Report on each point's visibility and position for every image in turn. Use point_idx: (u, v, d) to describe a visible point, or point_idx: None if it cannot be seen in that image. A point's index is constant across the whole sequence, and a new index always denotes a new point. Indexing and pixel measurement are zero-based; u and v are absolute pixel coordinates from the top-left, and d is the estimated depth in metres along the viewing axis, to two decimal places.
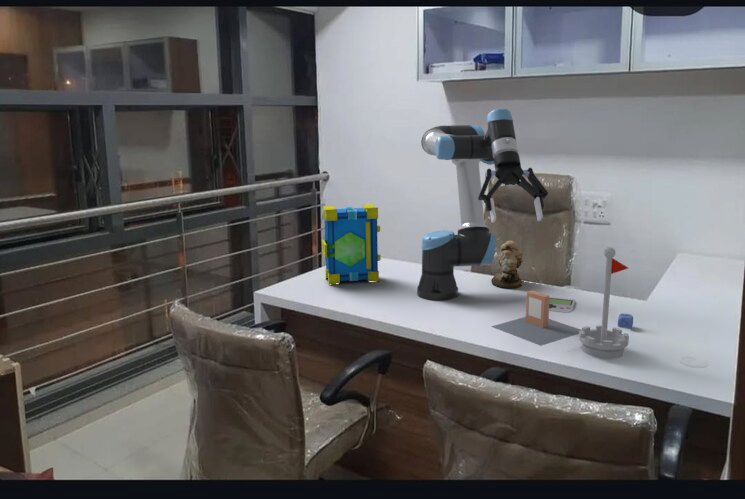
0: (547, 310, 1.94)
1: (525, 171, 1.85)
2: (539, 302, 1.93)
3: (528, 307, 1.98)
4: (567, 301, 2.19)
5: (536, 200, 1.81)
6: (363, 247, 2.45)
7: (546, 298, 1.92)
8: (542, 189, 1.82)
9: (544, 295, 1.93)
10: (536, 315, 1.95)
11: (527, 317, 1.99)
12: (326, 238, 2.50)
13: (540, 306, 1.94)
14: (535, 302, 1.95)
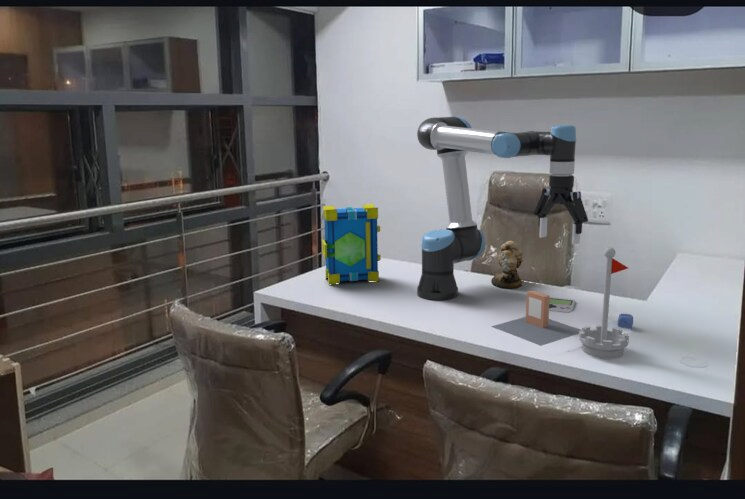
0: (547, 310, 1.94)
1: None
2: (539, 302, 1.93)
3: (528, 307, 1.98)
4: (567, 301, 2.19)
5: (546, 220, 2.08)
6: (363, 247, 2.45)
7: (546, 298, 1.92)
8: None
9: (544, 295, 1.93)
10: (536, 315, 1.95)
11: (527, 317, 1.99)
12: (326, 238, 2.50)
13: (540, 306, 1.94)
14: (535, 302, 1.95)
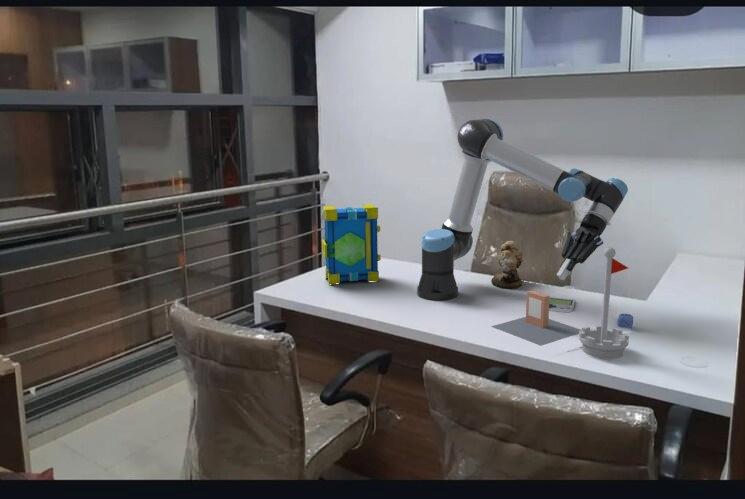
0: (547, 310, 1.94)
1: None
2: (539, 302, 1.93)
3: (528, 307, 1.98)
4: (567, 301, 2.19)
5: None
6: (363, 247, 2.45)
7: (546, 298, 1.92)
8: None
9: (544, 295, 1.93)
10: (536, 315, 1.95)
11: (527, 317, 1.99)
12: (326, 238, 2.50)
13: (540, 306, 1.94)
14: (535, 302, 1.95)
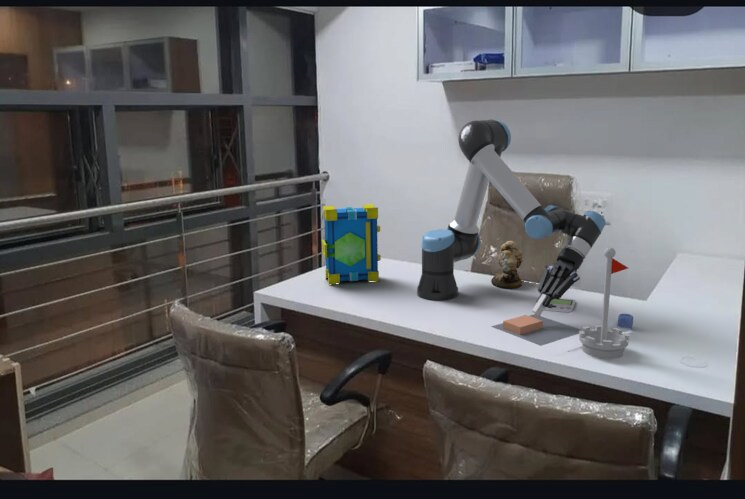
0: (530, 326, 1.90)
1: None
2: None
3: None
4: (567, 301, 2.19)
5: None
6: (363, 247, 2.45)
7: (521, 331, 1.88)
8: None
9: (517, 329, 1.89)
10: None
11: None
12: (326, 238, 2.50)
13: None
14: None
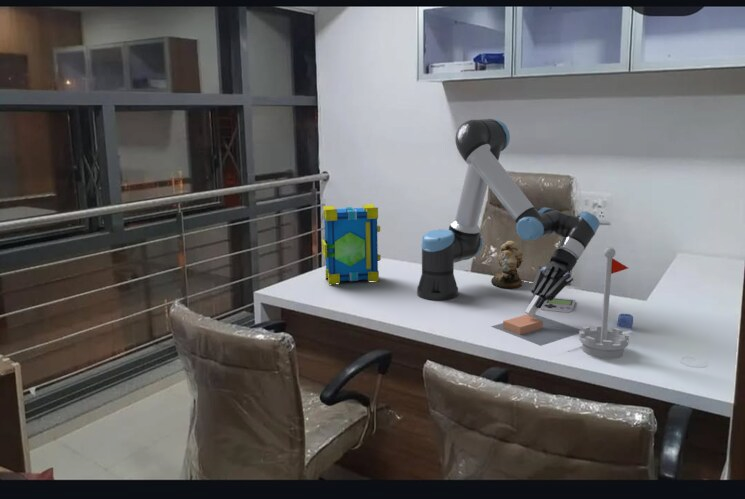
0: (530, 326, 1.90)
1: None
2: None
3: None
4: (567, 301, 2.19)
5: None
6: (363, 247, 2.45)
7: (521, 331, 1.88)
8: None
9: (517, 329, 1.89)
10: None
11: None
12: (326, 238, 2.50)
13: None
14: None
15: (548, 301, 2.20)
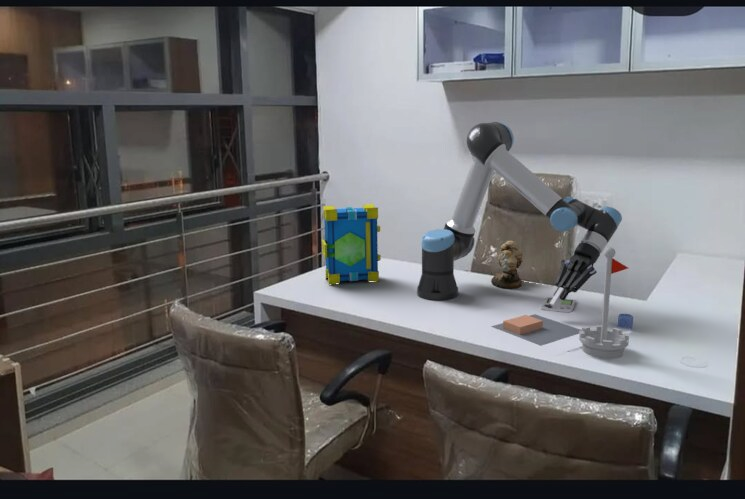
0: (530, 326, 1.90)
1: None
2: None
3: None
4: (567, 301, 2.19)
5: None
6: (363, 247, 2.45)
7: (521, 331, 1.88)
8: None
9: (517, 329, 1.89)
10: None
11: None
12: (326, 238, 2.50)
13: None
14: None
15: (548, 301, 2.20)
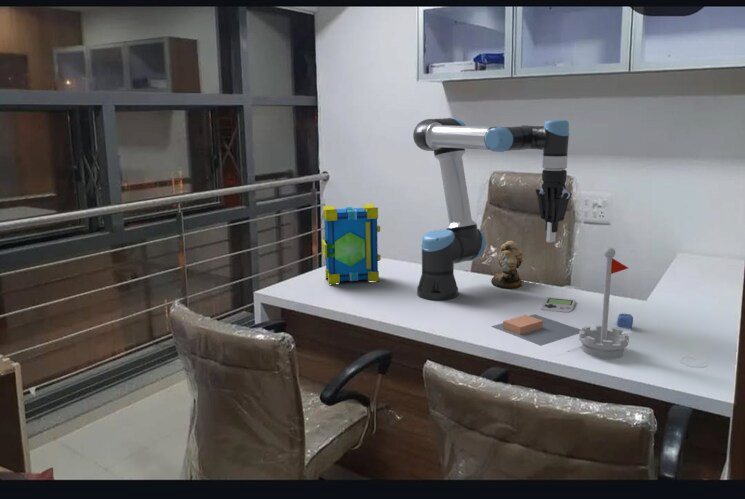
0: (530, 326, 1.90)
1: None
2: None
3: None
4: (567, 301, 2.19)
5: None
6: (363, 247, 2.45)
7: (521, 331, 1.88)
8: None
9: (517, 329, 1.89)
10: None
11: None
12: (326, 238, 2.50)
13: None
14: None
15: (548, 301, 2.20)
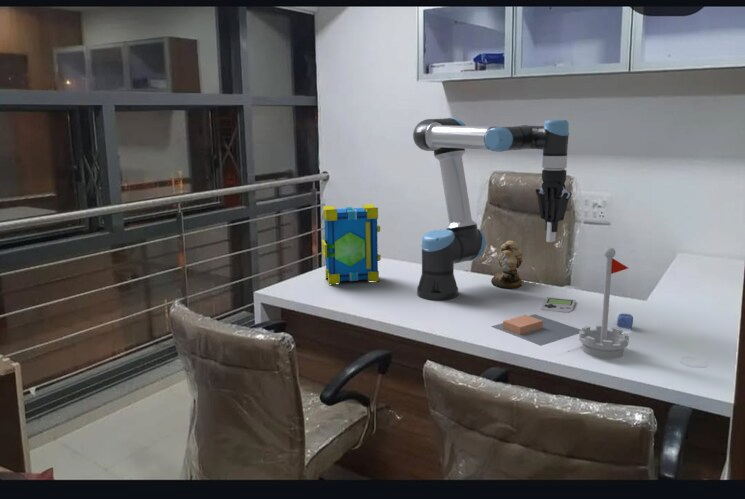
0: (530, 326, 1.90)
1: None
2: None
3: None
4: (567, 301, 2.19)
5: None
6: (363, 247, 2.45)
7: (521, 331, 1.88)
8: None
9: (517, 329, 1.89)
10: None
11: None
12: (326, 238, 2.50)
13: None
14: None
15: (548, 301, 2.20)
